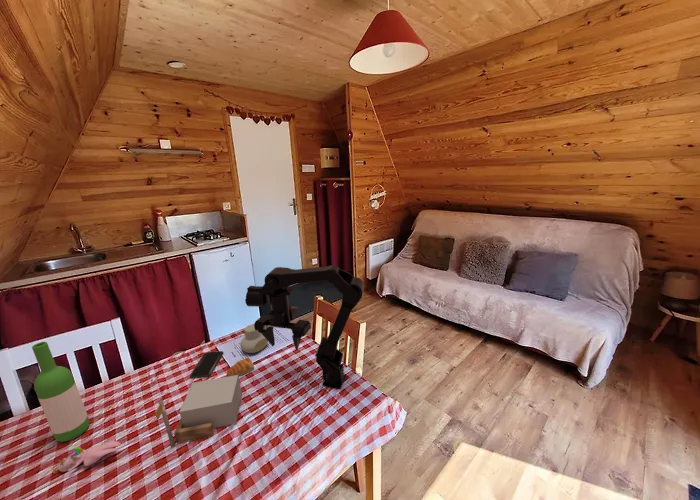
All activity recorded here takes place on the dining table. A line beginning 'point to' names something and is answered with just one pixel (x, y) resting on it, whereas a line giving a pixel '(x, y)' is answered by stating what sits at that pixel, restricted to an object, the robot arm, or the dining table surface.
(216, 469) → the dining table surface
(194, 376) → the phone
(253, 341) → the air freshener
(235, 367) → the pastry
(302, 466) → the dining table surface
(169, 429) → the walnut pocket
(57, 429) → the wine bottle
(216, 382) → the beige box
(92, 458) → the rabbit figure
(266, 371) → the dining table surface
